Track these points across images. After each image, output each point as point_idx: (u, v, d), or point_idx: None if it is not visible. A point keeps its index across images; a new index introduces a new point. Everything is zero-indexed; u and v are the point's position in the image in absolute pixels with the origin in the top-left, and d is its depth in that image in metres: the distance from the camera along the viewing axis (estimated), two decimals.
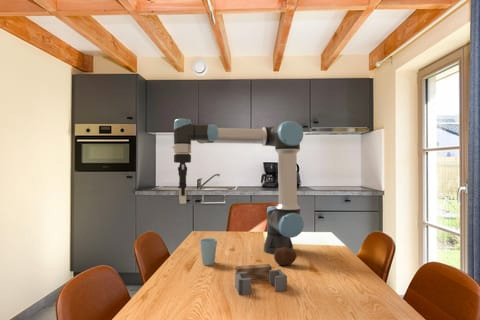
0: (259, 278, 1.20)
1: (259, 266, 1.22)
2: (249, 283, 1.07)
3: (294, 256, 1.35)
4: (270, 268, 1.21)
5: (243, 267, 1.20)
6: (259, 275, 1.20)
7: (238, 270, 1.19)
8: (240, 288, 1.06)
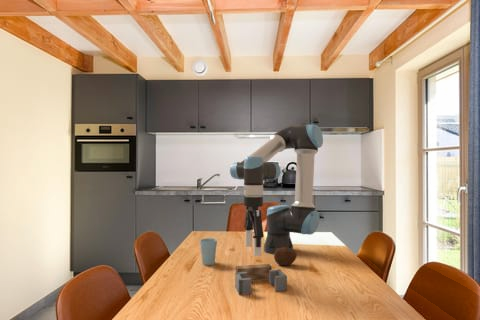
0: (259, 278, 1.20)
1: (259, 266, 1.22)
2: (249, 283, 1.07)
3: (294, 256, 1.35)
4: (270, 268, 1.21)
5: (243, 267, 1.20)
6: (259, 275, 1.20)
7: (238, 270, 1.19)
8: (240, 288, 1.06)
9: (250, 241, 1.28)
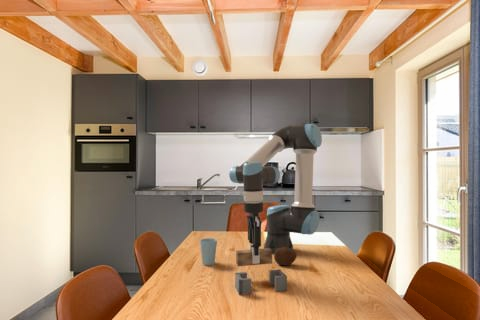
0: None
1: (259, 250, 1.22)
2: (249, 283, 1.07)
3: (294, 256, 1.35)
4: (270, 252, 1.21)
5: (243, 251, 1.21)
6: None
7: (238, 254, 1.19)
8: (240, 288, 1.06)
9: None
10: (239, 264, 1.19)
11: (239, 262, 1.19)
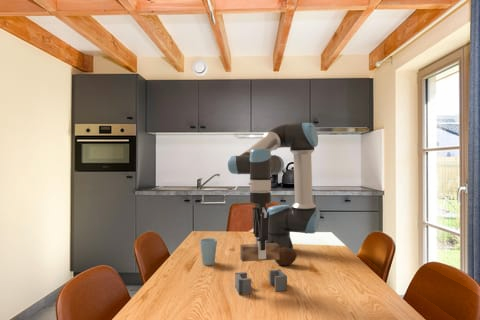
0: (266, 257, 1.10)
1: (266, 244, 1.12)
2: (249, 283, 1.07)
3: (294, 256, 1.35)
4: (278, 247, 1.11)
5: (248, 245, 1.10)
6: (266, 255, 1.10)
7: (243, 248, 1.09)
8: (240, 288, 1.06)
9: None
10: (244, 259, 1.09)
11: (244, 257, 1.09)
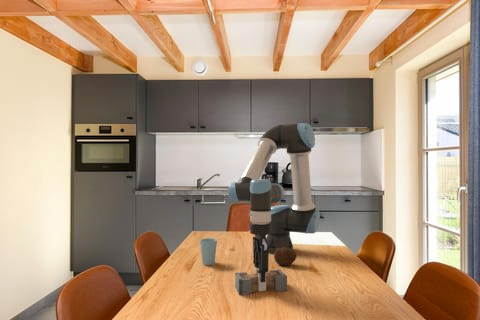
0: (266, 288, 1.10)
1: (266, 274, 1.12)
2: (249, 283, 1.07)
3: (294, 256, 1.35)
4: None
5: (248, 276, 1.10)
6: (266, 285, 1.10)
7: None
8: (240, 288, 1.06)
9: None
10: None
11: None
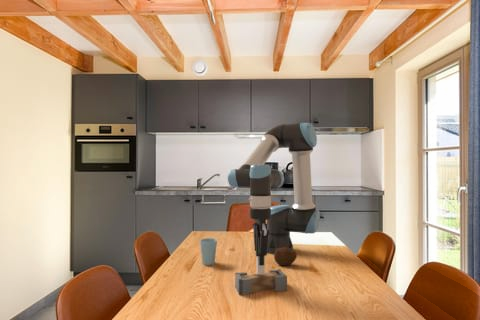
0: (266, 288, 1.10)
1: (266, 274, 1.12)
2: (249, 283, 1.07)
3: (294, 256, 1.35)
4: None
5: (249, 277, 1.10)
6: (266, 285, 1.10)
7: None
8: (240, 288, 1.06)
9: None
10: None
11: None
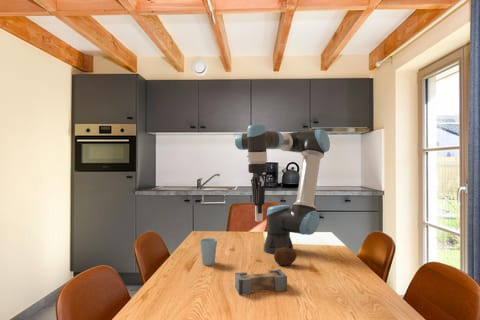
0: (266, 288, 1.10)
1: (266, 275, 1.12)
2: (249, 283, 1.07)
3: (294, 256, 1.35)
4: None
5: (248, 276, 1.10)
6: (266, 285, 1.10)
7: None
8: (240, 288, 1.06)
9: None
10: None
11: None
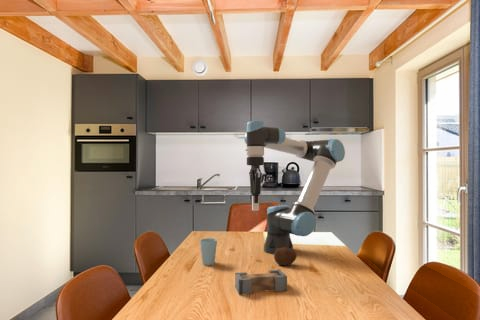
0: (266, 288, 1.10)
1: (266, 275, 1.12)
2: (249, 283, 1.07)
3: (294, 256, 1.35)
4: None
5: (248, 276, 1.10)
6: (266, 286, 1.10)
7: None
8: (240, 288, 1.06)
9: None
10: None
11: None
